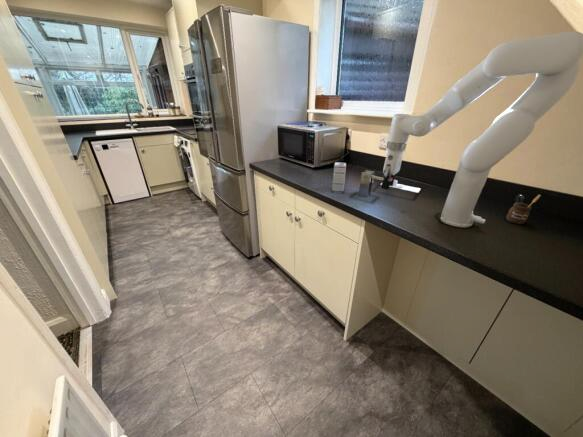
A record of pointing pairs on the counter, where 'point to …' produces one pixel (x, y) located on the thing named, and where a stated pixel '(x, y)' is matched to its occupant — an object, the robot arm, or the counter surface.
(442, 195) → the counter surface
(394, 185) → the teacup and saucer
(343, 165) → the syrup box
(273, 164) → the counter surface
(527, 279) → the counter surface
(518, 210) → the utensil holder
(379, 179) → the lever
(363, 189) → the bracket
